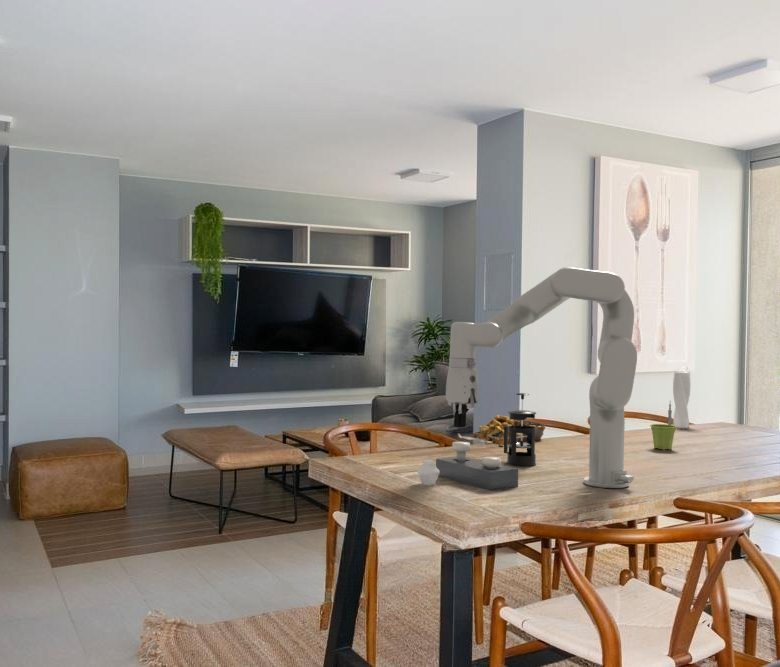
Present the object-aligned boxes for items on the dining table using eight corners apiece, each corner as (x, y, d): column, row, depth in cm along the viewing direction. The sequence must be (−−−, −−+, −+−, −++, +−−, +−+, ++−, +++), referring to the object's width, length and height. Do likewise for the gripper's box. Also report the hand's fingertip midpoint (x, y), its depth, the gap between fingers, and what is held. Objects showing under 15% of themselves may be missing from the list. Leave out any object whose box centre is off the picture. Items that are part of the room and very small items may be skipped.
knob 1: (473, 464, 225) (474, 443, 225) (459, 466, 222) (460, 444, 222) (462, 462, 229) (462, 441, 229) (448, 463, 226) (448, 442, 226)
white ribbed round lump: (412, 484, 214) (413, 459, 214) (427, 481, 219) (428, 456, 219) (429, 487, 210) (429, 462, 210) (444, 484, 214) (444, 459, 214)
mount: (518, 486, 213) (518, 468, 213) (491, 490, 208) (491, 472, 208) (461, 472, 233) (461, 455, 233) (435, 475, 227) (435, 458, 227)
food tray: (519, 435, 321) (520, 410, 321) (566, 443, 301) (567, 416, 301) (455, 441, 301) (456, 414, 301) (501, 450, 280) (501, 421, 280)
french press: (543, 464, 248) (544, 393, 248) (526, 468, 242) (528, 395, 241) (513, 460, 257) (514, 391, 256) (496, 463, 250) (497, 392, 250)
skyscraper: (676, 427, 351) (677, 366, 351) (693, 429, 345) (694, 366, 345) (666, 428, 346) (667, 366, 346) (683, 430, 340) (684, 367, 340)
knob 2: (504, 481, 214) (504, 458, 214) (490, 483, 211) (490, 460, 211) (491, 477, 219) (492, 456, 219) (477, 479, 216) (478, 457, 216)
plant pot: (680, 451, 282) (680, 427, 282) (654, 450, 282) (654, 427, 282) (671, 447, 291) (671, 424, 291) (646, 446, 291) (646, 423, 291)
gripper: (489, 366, 221) (486, 429, 222) (455, 362, 234) (453, 423, 234) (469, 365, 217) (466, 431, 217) (436, 362, 229) (433, 424, 229)
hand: (459, 426), depth 226 cm, fingers closed
